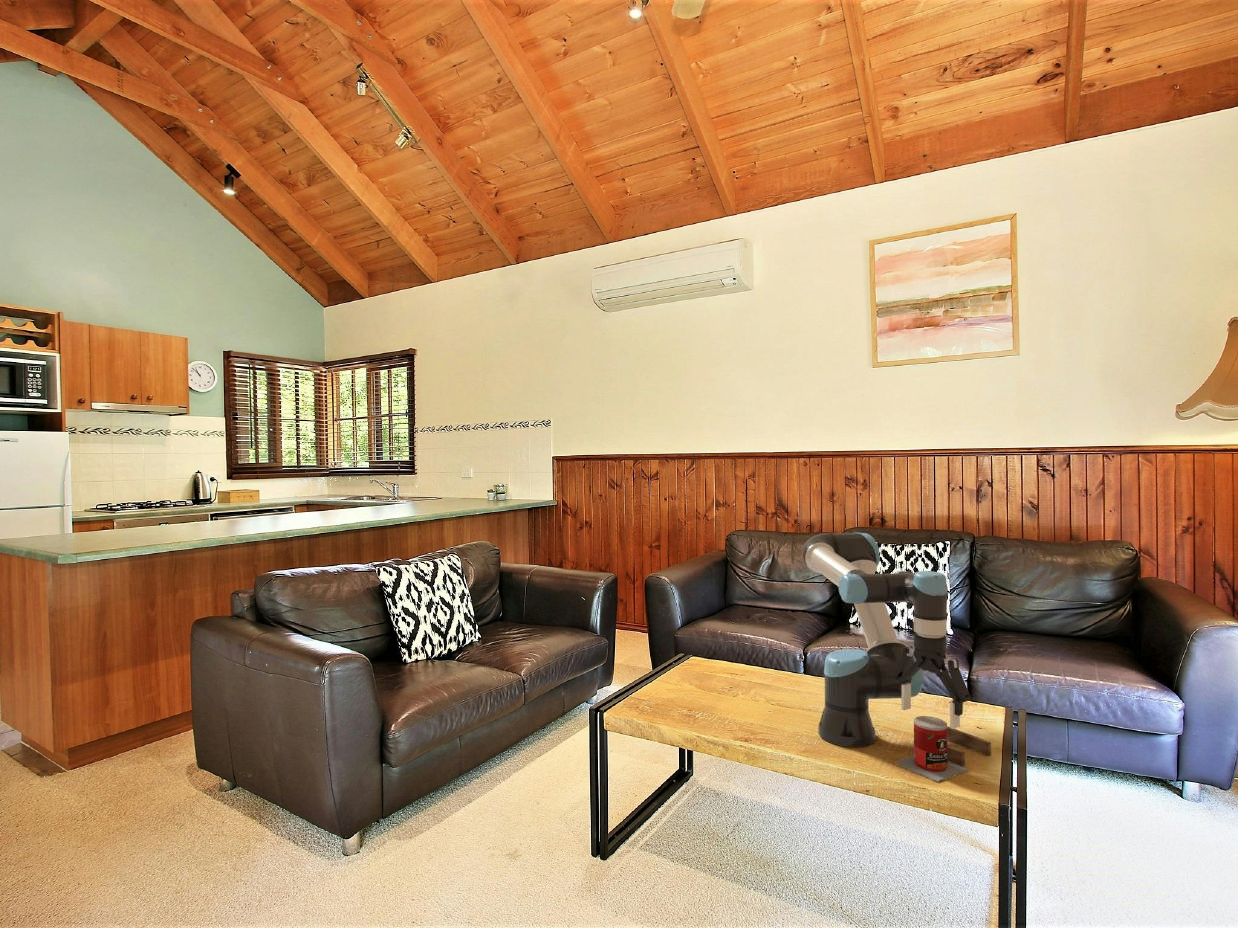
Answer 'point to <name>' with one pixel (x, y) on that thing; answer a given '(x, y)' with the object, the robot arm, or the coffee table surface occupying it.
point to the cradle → (967, 742)
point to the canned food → (930, 743)
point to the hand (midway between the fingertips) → (929, 717)
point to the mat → (937, 776)
